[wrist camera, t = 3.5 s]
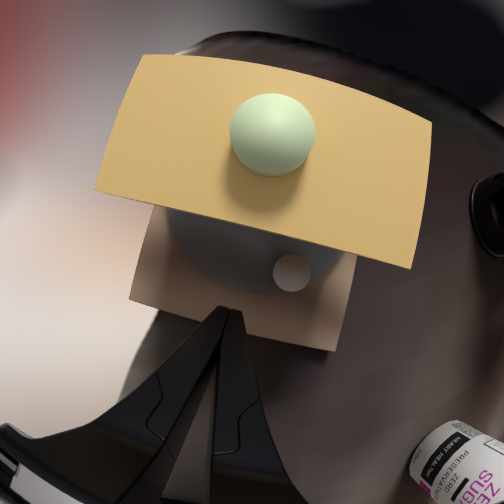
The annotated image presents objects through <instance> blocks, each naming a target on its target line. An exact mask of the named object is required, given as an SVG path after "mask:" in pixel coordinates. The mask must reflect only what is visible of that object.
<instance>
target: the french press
mask: <svg viewBox="0 0 504 504" xmlns="http://www.w3.org/2000/svg"><path fill="white" fill-rule="evenodd" d="M495 193H497V195H498V196H499V197H500V198H501V200H502V202H503V204H504V173H502V172H497V173H496V174H494V175H492V176H490V177H488V178H484V179H480V180H478V181H476V183H475V184H474V185H473V187H472V189H471V192H470V199H469V210H470V217H471V222H472V226H473V229H474V232H475V234H476V237H477V239H478V241H479V243H480V244H481V246H482V247H483V249H484V250H485V251H486V252H487V253H488V254H489V255H491V256H493V257H496V258H500V257H503V256H504V240H503V238H502V237H501V235H500V233H499V231H498V228H497V226H496V223H495V220H494V216H493V212H492V207H491V199H490V196H491V195H493V194H495Z"/></svg>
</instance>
